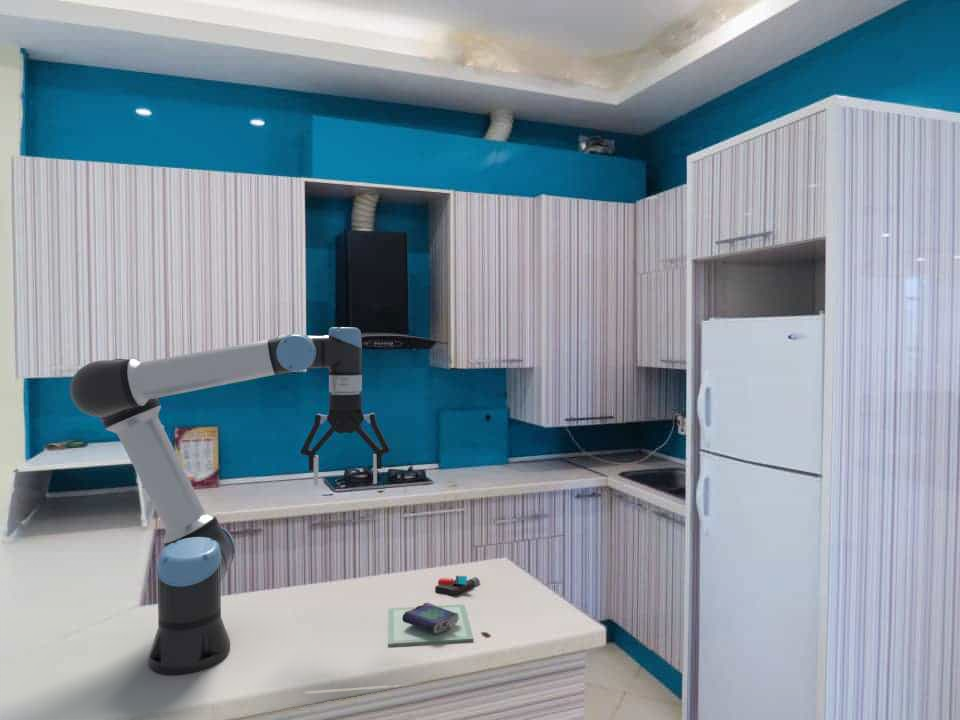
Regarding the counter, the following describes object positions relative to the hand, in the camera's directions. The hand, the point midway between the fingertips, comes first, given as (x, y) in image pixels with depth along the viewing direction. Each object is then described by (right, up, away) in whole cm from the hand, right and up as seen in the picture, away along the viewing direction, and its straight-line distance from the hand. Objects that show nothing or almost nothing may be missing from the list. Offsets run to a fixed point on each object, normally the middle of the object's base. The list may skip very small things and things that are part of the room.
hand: (345, 483), depth 148 cm
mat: (+20, -31, -6) cm, 37 cm away
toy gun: (+25, -31, +16) cm, 43 cm away
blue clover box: (+17, -31, -6) cm, 36 cm away
